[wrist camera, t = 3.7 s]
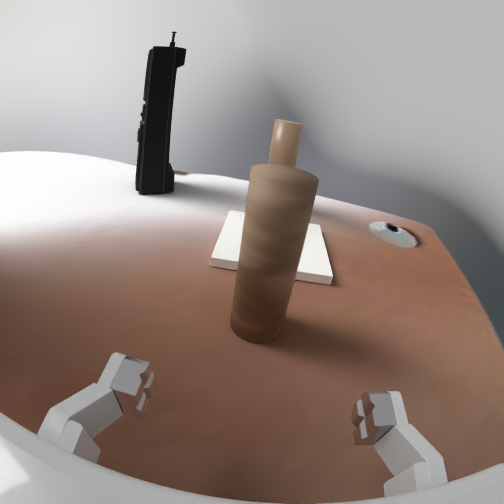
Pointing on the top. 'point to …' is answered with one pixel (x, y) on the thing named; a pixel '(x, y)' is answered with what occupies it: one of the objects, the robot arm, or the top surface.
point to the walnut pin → (270, 248)
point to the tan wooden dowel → (285, 143)
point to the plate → (311, 262)
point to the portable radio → (157, 120)
